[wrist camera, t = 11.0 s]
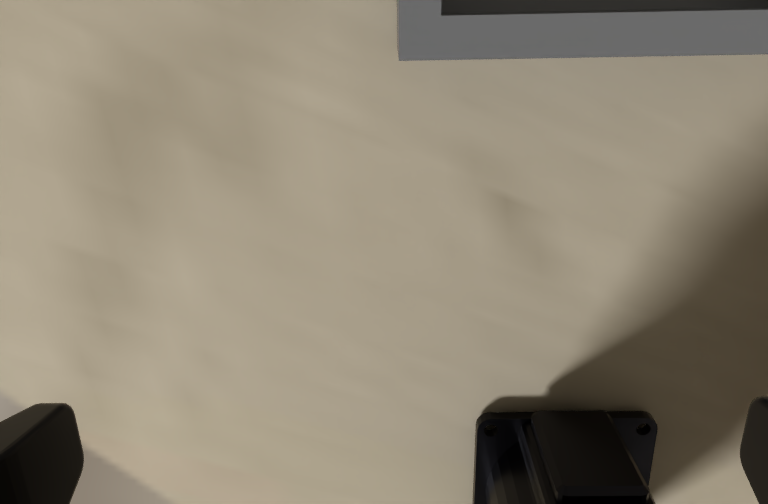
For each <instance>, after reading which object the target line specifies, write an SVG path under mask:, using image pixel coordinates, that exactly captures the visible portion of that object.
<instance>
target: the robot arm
mask: <svg viewBox="0 0 768 504" xmlns="http://www.w3.org/2000/svg"><path fill="white" fill-rule="evenodd" d="M644 423H645V424H646V425H645V426H644V427H643V428H639V429H638V428H637V427H638V426H639V425H640V424H644ZM488 425H495V426H496V427H495V428H493V429H491V430H488V429H485V427H486V426H488ZM656 435H657V424H656V422H655V421H654V419H653V418H652V416H651V415H650V414H649V413H647V412H643V411H610V412H605V411H603V410H589V411H538V412H493V413H485V414H483V415H481V416H480V417H479V418H478V419H477V422H476V433H475V458H474V483H473V504H655V502H654V500H653V498H652V496H651V494H650V492H649V488H648V485H649V478H650V472H651V466H652V460H653V454H654V447H655V441H656ZM740 458H741V463H742V466H743V469H744V471H745V474H746V476H747V478H748V480H749V482H750V484H751V487H752V489H753V491H754V493H755V495H756V498H757V500H758V502H759V504H768V397H757V398H755V399H754V400H753V401H752V402H751V404H750V407H749V410H748V415H747V419H746V424H745V428H744V433H743V438H742V442H741V447H740ZM83 463H84V455H83V449H82V445H81V440H80V436H79V431H78V427H77V423H76V418H75V414H74V411H73V409H72V408H71V406H69V405H68V404H66V403H40V404H35V405H33V406H31V407H29V408H27V409H25V410H23V411H21V412H19V413H17V414H15V415H13V416H11V417H9V418H7V419H5V420H3V421H1V422H0V504H70V501H71V499H72V496H73V494H74V491H75V488H76V486H77V483H78V481H79V478H80V476H81V473H82V468H83Z"/></svg>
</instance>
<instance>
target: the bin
mask: <svg viewBox="0 0 768 504" xmlns="http://www.w3.org/2000/svg"><path fill="white" fill-rule="evenodd" d="M397 42H398V57H399V61H409V60H467V59H524V58H581V57H638V56H695V55H752V54H768V0H397Z"/></svg>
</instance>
